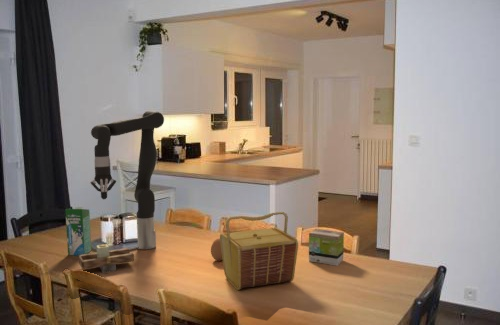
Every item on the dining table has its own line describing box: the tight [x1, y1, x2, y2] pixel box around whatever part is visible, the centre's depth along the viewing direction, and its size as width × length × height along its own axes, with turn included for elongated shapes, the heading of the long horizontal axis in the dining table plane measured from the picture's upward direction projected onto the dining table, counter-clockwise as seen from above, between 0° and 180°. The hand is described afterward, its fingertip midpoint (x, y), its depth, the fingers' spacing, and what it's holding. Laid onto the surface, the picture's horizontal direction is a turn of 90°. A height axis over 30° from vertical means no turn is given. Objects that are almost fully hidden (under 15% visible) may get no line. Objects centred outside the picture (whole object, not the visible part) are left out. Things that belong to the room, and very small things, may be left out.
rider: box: [96, 244, 110, 258], centre depth 232 cm, size 5×5×7 cm
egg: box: [210, 238, 223, 262], centre depth 242 cm, size 8×8×11 cm
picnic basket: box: [219, 211, 299, 291], centre depth 213 cm, size 29×26×30 cm
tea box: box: [308, 228, 345, 267], centre depth 239 cm, size 15×10×15 cm, turn 62°
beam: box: [77, 247, 135, 274], centre depth 234 cm, size 24×14×6 cm, turn 117°
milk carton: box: [64, 206, 92, 256], centre depth 257 cm, size 9×9×25 cm
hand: (104, 199), depth 245 cm, fingers closed
